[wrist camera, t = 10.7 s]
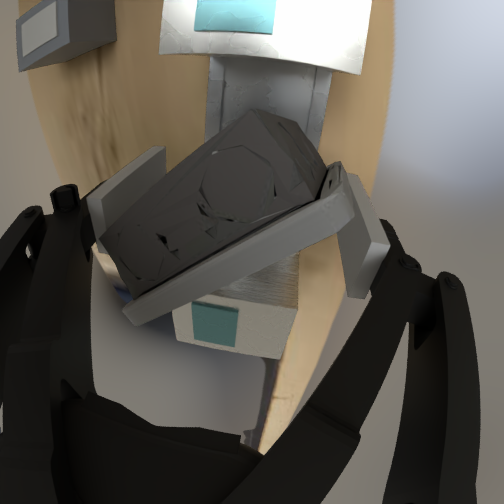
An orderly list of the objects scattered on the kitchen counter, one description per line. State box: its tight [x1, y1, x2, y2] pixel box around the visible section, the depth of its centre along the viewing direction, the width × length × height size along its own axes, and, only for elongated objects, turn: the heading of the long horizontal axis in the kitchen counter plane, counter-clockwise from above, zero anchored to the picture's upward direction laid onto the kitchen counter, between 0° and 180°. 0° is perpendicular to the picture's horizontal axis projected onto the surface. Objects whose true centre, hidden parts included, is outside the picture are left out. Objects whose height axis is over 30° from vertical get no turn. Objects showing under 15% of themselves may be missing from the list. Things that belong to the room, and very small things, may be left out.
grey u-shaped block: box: [159, 0, 372, 359], centre depth 16 cm, size 8×25×10 cm, turn 174°
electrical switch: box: [99, 108, 355, 326], centre depth 12 cm, size 9×5×9 cm, turn 127°
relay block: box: [16, 0, 117, 72], centre depth 12 cm, size 6×5×6 cm
